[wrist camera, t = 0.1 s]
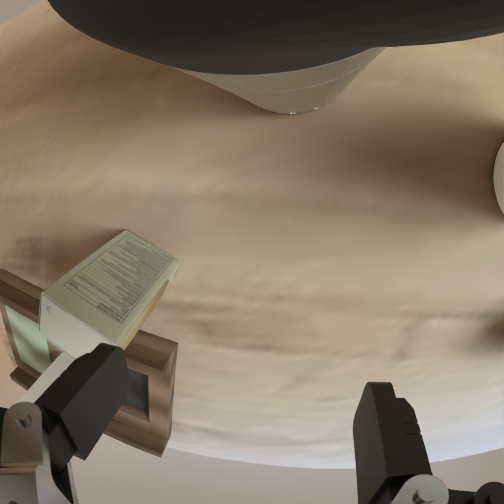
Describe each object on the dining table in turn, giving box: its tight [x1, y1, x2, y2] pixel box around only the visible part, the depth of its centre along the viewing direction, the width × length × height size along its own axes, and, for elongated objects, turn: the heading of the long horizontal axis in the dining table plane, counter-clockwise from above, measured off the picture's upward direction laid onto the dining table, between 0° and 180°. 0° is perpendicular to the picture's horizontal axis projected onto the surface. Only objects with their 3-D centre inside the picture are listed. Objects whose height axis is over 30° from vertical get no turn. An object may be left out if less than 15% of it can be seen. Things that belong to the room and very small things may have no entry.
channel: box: [0, 269, 178, 457], centre depth 34 cm, size 19×28×4 cm
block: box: [17, 352, 74, 403], centre depth 29 cm, size 4×4×12 cm
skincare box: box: [39, 230, 180, 360], centre depth 23 cm, size 6×4×12 cm
